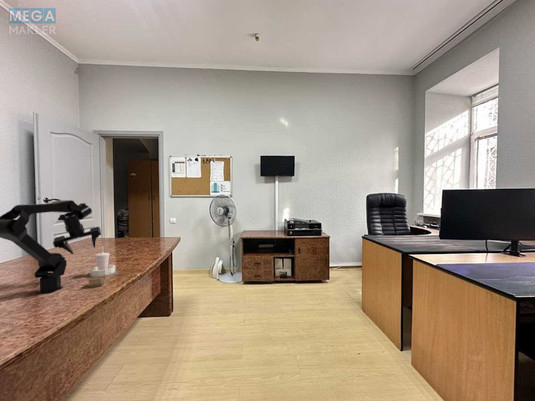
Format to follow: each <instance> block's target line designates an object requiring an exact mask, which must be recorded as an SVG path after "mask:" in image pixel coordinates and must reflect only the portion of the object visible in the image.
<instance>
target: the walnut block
mask: <svg viewBox="0 0 535 401" xmlns="http://www.w3.org/2000/svg"><path fill="white" fill-rule="evenodd" d="M106 283H107V276H106V275H104V276H94V277H92V278H91V279H90V278H89V279H88V288H99V287H100V288H101V287H103V286H104V285H105V284H106Z"/></svg>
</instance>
